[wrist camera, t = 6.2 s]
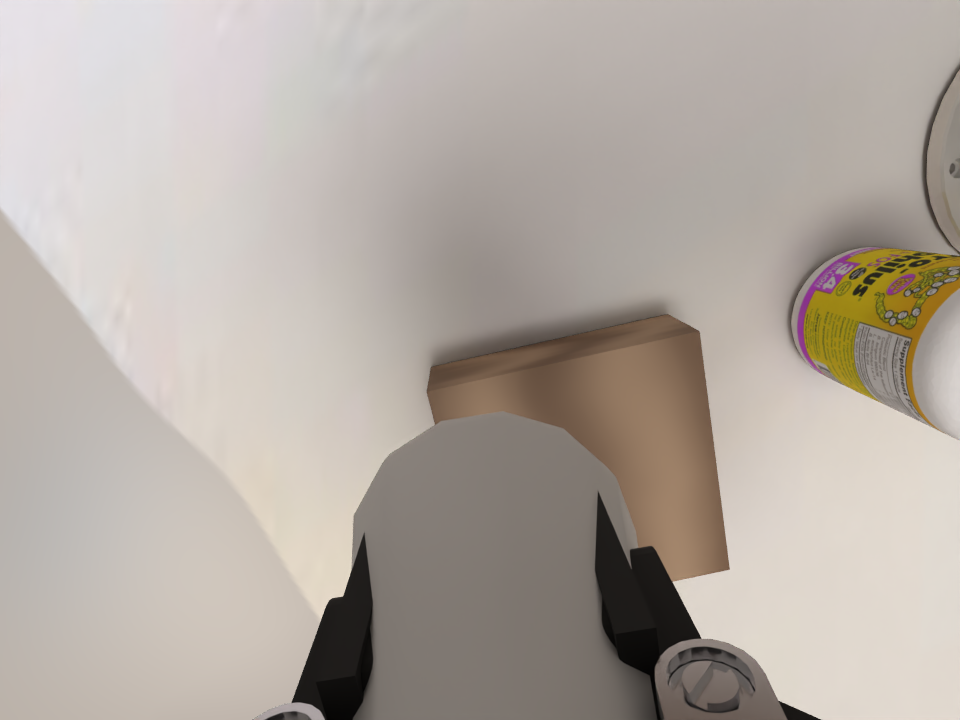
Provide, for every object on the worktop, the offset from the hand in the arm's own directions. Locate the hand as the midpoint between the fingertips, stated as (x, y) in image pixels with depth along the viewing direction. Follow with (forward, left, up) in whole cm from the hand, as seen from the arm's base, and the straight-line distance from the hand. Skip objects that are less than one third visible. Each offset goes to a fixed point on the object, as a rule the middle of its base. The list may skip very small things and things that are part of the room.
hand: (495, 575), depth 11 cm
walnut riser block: (-4, +7, -19) cm, 20 cm away
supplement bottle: (-19, +3, -19) cm, 27 cm away
